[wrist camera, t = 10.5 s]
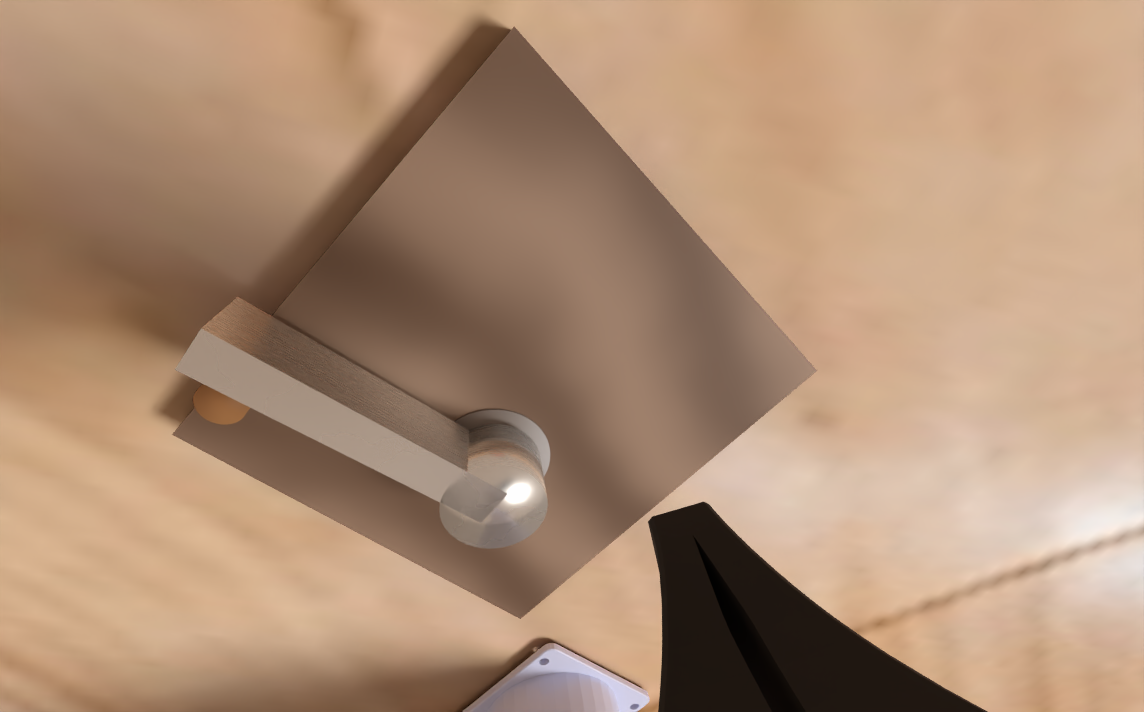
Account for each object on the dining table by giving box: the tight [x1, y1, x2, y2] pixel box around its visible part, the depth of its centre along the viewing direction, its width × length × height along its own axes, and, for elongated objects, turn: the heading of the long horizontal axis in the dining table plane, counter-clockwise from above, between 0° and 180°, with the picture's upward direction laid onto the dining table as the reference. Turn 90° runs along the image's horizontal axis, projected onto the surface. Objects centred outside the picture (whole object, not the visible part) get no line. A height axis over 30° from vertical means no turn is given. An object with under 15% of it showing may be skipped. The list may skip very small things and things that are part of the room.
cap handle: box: [175, 297, 548, 549], centre depth 18 cm, size 12×4×2 cm, turn 50°
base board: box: [172, 27, 817, 619], centre depth 19 cm, size 17×16×3 cm
